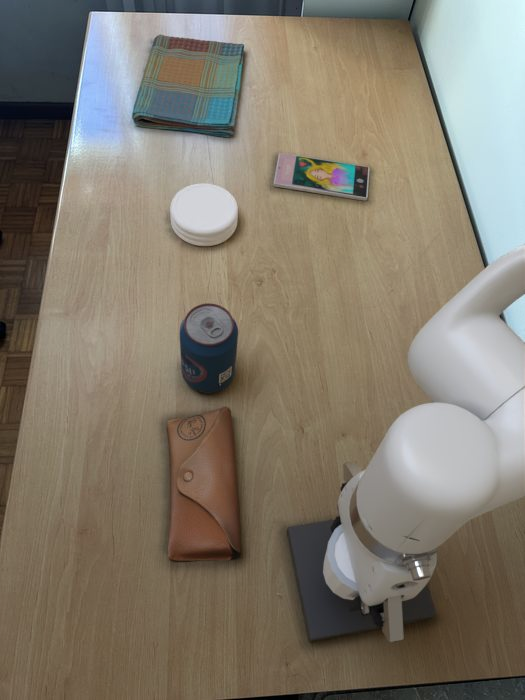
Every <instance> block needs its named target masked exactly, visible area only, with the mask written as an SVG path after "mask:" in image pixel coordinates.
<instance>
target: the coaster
mask: <svg viewBox="0 0 525 700" xmlns="http://www.w3.org/2000/svg"><path fill="white" fill-rule="evenodd" d="M238 206H239V205H238V202H237V201H236V199H235V197H234V196H233V194H232V193H231V192H229V191H228V190H227V189H226V188H224V187H222V186H219V185H216V184H212V183H204V182H203V183H194V184H190V185H187V186H184V187H183V188H181V189H180V190H178V192H176V193H175V194H174V196H173V197H172V200H171V202H170V205H169V213H170V215H169V216H170V226H171V228H172V230H173V232H174V234H176V236H177V237H178V238H179V239H180V240H182V241H184V242H185V243H188V244H190V245H194V246H199V247H211V246H216V245H220V244H221V243H224V242H226V241H227V240H228V239H230V237H231V236H233V234H234V233H235V231H236V229H237V226H238V217H239V207H238Z"/></svg>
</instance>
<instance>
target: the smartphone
mask: <svg viewBox="0 0 525 700" xmlns="http://www.w3.org/2000/svg"><path fill="white" fill-rule="evenodd" d="M369 181H370V167H369V166H366V165H360V164H355V163H354V164H353V163H349V162H348V163H347V162H341V161H335V160H328V159H322V158H316V157H309V156H303V155H297V154H291V153H284V152H278V156H277V161H276V167H275V173H274V178H273V184H272V185H273V187H275V188H282V189H287V190H295V191H301V192H306V193H307V192H308V193H314V194H320V195H325V196H326V195H327V196H332V197H339V198H345V199H351V200H358V201H365V202H366V201H367V200H368V196H369V184H370V183H369Z"/></svg>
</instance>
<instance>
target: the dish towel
mask: <svg viewBox="0 0 525 700" xmlns="http://www.w3.org/2000/svg"><path fill="white" fill-rule="evenodd" d="M244 52H245V45H244V44H243V43H233V42H223V41H216V40H204V39H203V40H202V39H196V38H188V37H187V38H186V37H178V36H170V35H164V34H158V35H156V36H155V37H154V40H153V42H152V45H151V49H150V52H149V54H148V57H147V58H148V59H147V62H146V65H145V67H144V70H143V75H142V78H141V82H140V85H139V89H138V91H137V94H136V97H135V101H134V104H133V108H132V113H131V119H132V121H133V123H134V124H135V125H136V126H139V127H141V128H147V129H148V128H149V129H159V130H176V131H186V132H192V133H199V134H204V135H208V136H209V135H210V136H215V137H223V138H230V137H231V136H234V133H235V126H236V122H237V114H238V107H239V100H240V93H241V85H242V84H241V83H242V74H243V73H242V72H243V63H244Z"/></svg>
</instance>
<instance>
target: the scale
mask: <svg viewBox="0 0 525 700" xmlns="http://www.w3.org/2000/svg"><path fill="white" fill-rule="evenodd" d="M334 520H335V519H329V520H324V521H323V520H322V521H317V522H312V523H311V522H310V523H305V524H298V525H292V526H288V527H287V529H286V538H287V543H288V547H289V551H290V552H289V553H290V557H291V563H292V567H293V572H294V578H295V581H296V586H297V591H298V592H297V593H298V597H299V602H300V605H301V613H302V616H303V622H304V627H305V631H306V636H307V641H308V642H309V643H311V642H316V641H322V640H327V639H332V638H338V637H342V636H348V635H354V634H358V633H363V632H368V631H374V630H379V629H382V627H381V628H377V626H376V625H375V624H374V622H373V619H372V617H371V615H368V616H362V614H361V610H358V611H352V612H350V609H349V605H350V602H351V601H352V600H350V599H343V598H341V597H340V596H338V595H337V594H335V593H333V591H332V590H331V589H330V588H329V586H328V585H327V584H326V581H325V578H324V574H323V566H324V559H325V555H326V550H327V546H328V542H329V540H330V538H331V536H332V534H333V533H331V528H330V527H331V526H332V524H333V522H334ZM402 616H403V625H405V624H410V623H411V624H412V623H415V622H422V621H427V620H432V619H433V618H435V617H437V612H436V610H435V606H434V602H433V599H432V595H431V592H430V589H429V586H428V583H427V584H426V585H425V587H424V588H423V589H422V590H421V591H420V592H419V593H418V594H417V595H416V596H415V597H414V598H412V599H409V600H405V601H402Z"/></svg>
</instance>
